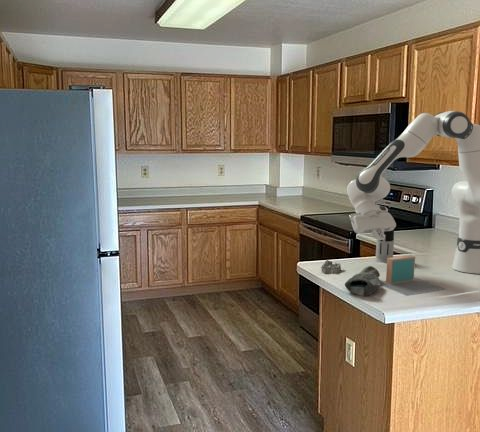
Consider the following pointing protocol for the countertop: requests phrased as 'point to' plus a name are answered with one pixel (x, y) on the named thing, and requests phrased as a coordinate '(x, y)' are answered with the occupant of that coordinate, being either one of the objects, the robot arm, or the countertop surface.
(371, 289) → the detergent
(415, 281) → the mat
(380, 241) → the glass holder
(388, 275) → the tile
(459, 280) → the countertop surface
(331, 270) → the egg carton
